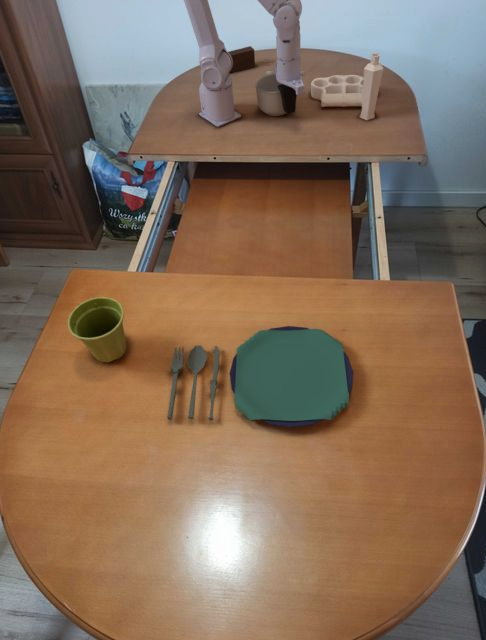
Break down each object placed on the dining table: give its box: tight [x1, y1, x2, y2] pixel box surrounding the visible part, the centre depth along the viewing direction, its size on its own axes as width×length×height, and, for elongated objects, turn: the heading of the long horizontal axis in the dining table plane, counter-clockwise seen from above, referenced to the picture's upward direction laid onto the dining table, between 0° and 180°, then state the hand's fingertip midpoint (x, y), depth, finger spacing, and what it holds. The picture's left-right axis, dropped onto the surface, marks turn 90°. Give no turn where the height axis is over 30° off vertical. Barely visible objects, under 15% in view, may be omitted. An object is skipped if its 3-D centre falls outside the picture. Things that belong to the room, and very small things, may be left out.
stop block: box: [227, 45, 256, 74], centre depth 152 cm, size 3×10×5 cm, turn 111°
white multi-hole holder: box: [310, 74, 364, 108], centre depth 137 cm, size 3×18×15 cm
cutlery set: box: [166, 325, 354, 429], centre depth 81 cm, size 20×30×2 cm, turn 87°
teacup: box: [255, 70, 286, 117], centre depth 134 cm, size 14×11×8 cm
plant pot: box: [67, 296, 128, 363], centre depth 85 cm, size 9×9×9 cm
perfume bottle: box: [359, 52, 385, 121], centre depth 125 cm, size 5×4×15 cm
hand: (289, 111), depth 131 cm, fingers closed, pressing on teacup
